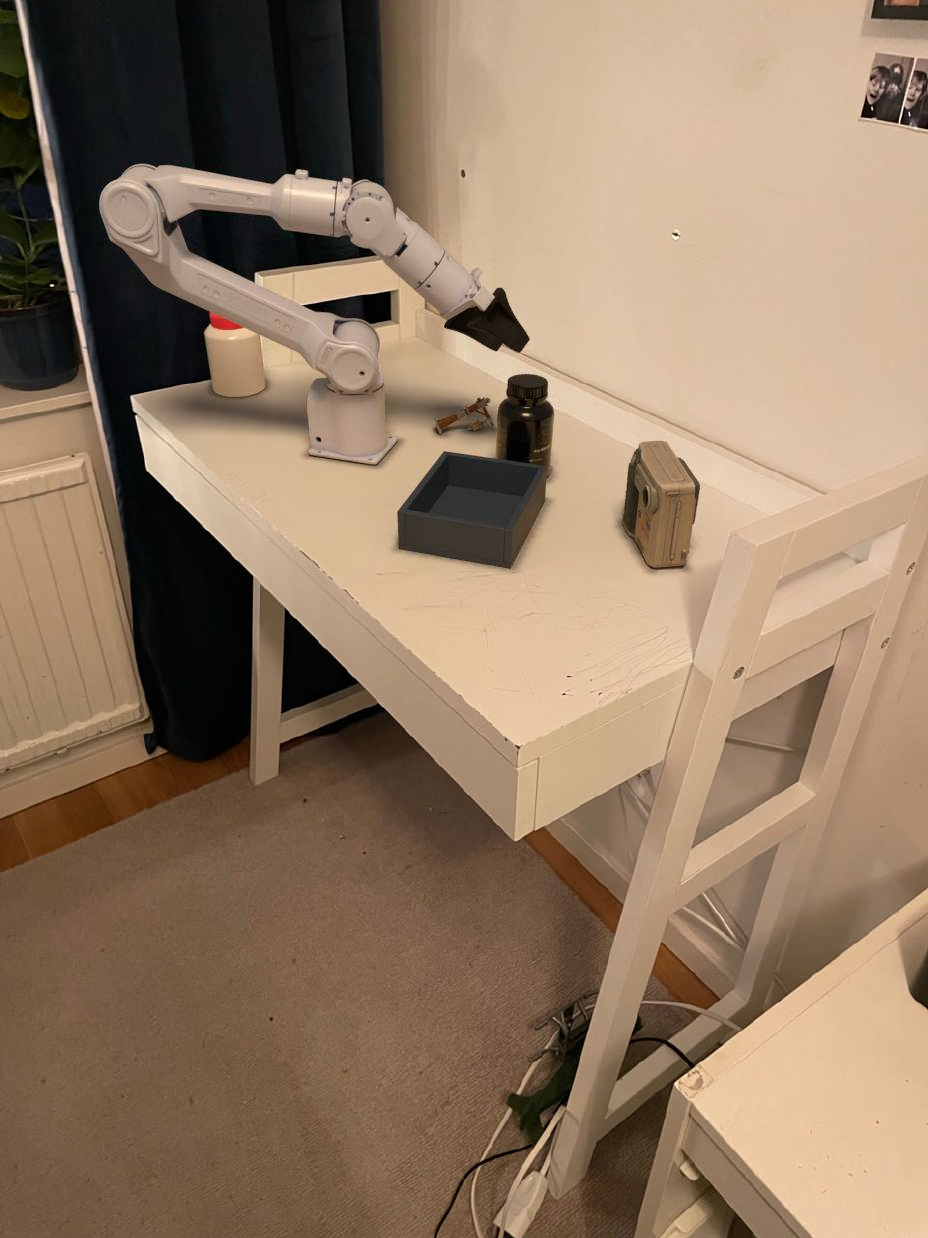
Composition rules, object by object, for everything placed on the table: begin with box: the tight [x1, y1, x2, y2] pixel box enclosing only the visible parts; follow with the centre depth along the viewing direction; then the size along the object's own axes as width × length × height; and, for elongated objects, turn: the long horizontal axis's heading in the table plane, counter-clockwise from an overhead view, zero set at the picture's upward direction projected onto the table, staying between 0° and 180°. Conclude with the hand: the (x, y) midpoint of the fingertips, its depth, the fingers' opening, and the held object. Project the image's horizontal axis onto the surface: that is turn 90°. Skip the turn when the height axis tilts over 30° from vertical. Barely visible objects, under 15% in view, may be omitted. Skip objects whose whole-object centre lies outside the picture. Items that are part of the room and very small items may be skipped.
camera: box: [622, 440, 701, 569], centre depth 100 cm, size 11×6×10 cm, turn 4°
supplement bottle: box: [495, 373, 555, 477], centre depth 113 cm, size 7×7×12 cm
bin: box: [396, 450, 548, 569], centre depth 104 cm, size 13×16×5 cm
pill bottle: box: [203, 311, 267, 398], centre depth 135 cm, size 8×8×11 cm
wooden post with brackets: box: [432, 397, 496, 436], centre depth 126 cm, size 2×8×4 cm, turn 99°
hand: (512, 345), depth 115 cm, fingers open, 7 cm apart
